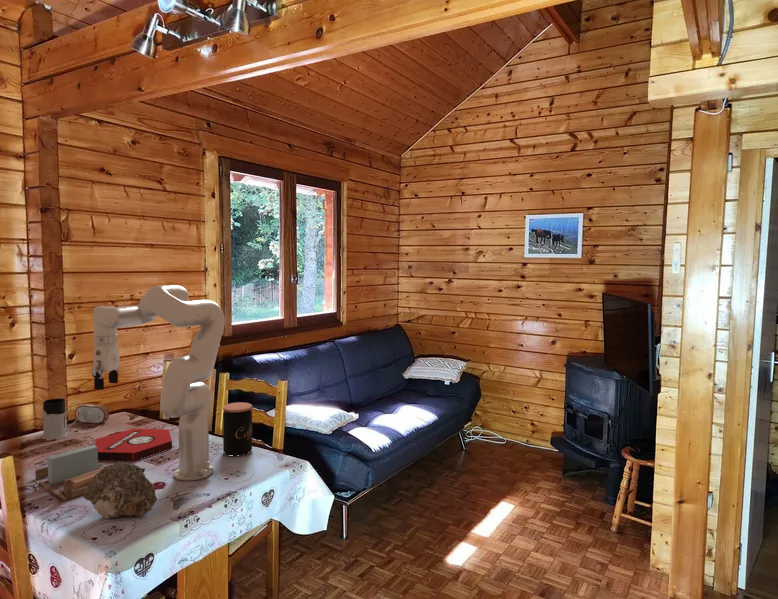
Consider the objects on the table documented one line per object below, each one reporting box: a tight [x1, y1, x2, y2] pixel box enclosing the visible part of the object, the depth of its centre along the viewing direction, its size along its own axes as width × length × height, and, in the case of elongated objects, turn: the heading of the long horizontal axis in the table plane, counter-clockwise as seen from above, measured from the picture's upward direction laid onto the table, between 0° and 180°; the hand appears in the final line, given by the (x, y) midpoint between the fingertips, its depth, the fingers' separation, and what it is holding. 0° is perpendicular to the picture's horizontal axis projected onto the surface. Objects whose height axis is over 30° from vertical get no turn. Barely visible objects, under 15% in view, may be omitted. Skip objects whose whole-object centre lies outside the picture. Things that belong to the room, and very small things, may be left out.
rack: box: [34, 464, 105, 502], centre depth 167 cm, size 24×18×6 cm
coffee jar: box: [222, 402, 253, 457], centre depth 194 cm, size 11×11×18 cm
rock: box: [82, 461, 158, 519], centre depth 147 cm, size 18×14×15 cm
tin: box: [74, 403, 110, 425], centre depth 226 cm, size 15×3×8 cm, turn 82°
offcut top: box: [71, 469, 102, 489], centre depth 162 cm, size 4×10×2 cm, turn 150°
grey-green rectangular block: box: [47, 444, 99, 485], centre depth 169 cm, size 3×14×9 cm, turn 144°
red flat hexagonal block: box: [94, 428, 173, 462], centre depth 197 cm, size 27×4×30 cm
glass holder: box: [42, 398, 83, 441], centre depth 209 cm, size 9×14×15 cm, turn 118°
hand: (106, 386), depth 186 cm, fingers open, 9 cm apart
